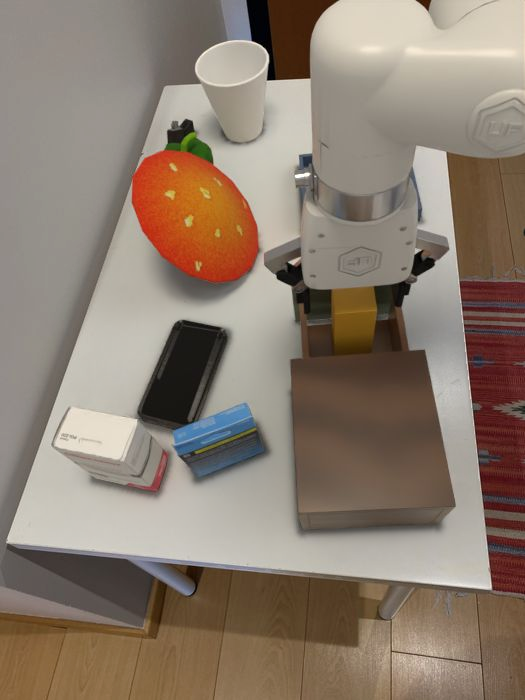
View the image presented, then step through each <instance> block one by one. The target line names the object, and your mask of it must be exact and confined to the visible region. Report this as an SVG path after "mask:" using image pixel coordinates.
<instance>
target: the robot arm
mask: <svg viewBox="0 0 525 700" xmlns="http://www.w3.org/2000/svg"><path fill="white" fill-rule="evenodd" d="M309 42H310V45H309V46H310V47H309V71H310V72H309V76H310V111H311V112H310V113H311V114H310V115H311V139H312V140H311V141H312V142H311V143H312V144H311V146H312V147H311V150H312V151H311V153H312V164H309V168H304V170H300V169H299V170H294V182H295V183H294V184H295V189H301V188H303V187H305V189H306V193H305V197H304V202H303V203H302V209H301V217H300V234H299V235H300V236H299V237H296V238H294V239H291V240H290V241H288V242H285V243H282V244H281V245H278V246H276V247H274V248H272V249H269V250H267V251H265V252H264V253H263V263H264V264H263V265H264V267H265V268H266V269H267V270H268V271H269V272H271V273H272V274H274V275H275V277H276V280H277V281H279V282H281V283H283V284H285V285H288V286H290V287H291V286H292V287H291V289H292V288H293V291H294V292H296V299H297V304H301V303H303V304H304V314H309V313H311V308H310V289H309V287H310V288H313V289H321V290H323V289H342V288H356V287H368V286H379V285H389V284H391V289H392V295H393V301H394V306H396V307H402V308H403V304H404V300H405V296H409V295H410V291H411V288H412V285H414V284H416V283H417V282H418V277H419V276H421V275H423V274H424V273H426V272H428V271H429V270H431V269H433V268H434V267H435V266H436V262H437V261H440V260H441V259H442V258H443V257H444V256H445V255H447V253H448V252H449V251H450V249H451V248H450V243H449V241H448V238H447V236H444V235H441V234H437V233H433V232H430V231H427V230H423V229H420V228H418V223H419V221H418V199H417V192H416V189H415V187H414V184H413V181H412V179H411V178H410V176H411V171H412V166H413V165H414V160H415V155H416V149H417V147H422V148H427V149H431V150H435V151H441V152H444V153H445V152H446V153H450V154H455V155H459V156H464V157H471V158H476V159H477V158H479V159H504V158H512V157H516V156H520V155H523V154H525V0H431V1H430V3H429V7H428V10H427V8H426V7H425V6H423V4H421V3H420V2H419V1H417V0H337V1H336V2H334V3H333V4H332V5H331V6H329V7H327V8H326V10H324V12H322V14H321V15H320V17H319V18H318V19H317V21H316V23H315V25H314V28H313V31H312V33H311V37H310V41H309ZM413 167H414V166H413ZM416 249H419V251H418V252H416ZM415 252H416V253H415ZM298 258H300V259H299V260H297V261H296V262H295V263H294V264H292V263H290V262H292V261H293V260H296V259H298Z"/></svg>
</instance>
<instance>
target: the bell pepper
mask: <svg viewBox="0 0 525 700" xmlns="http://www.w3.org/2000/svg"><path fill="white" fill-rule="evenodd" d="M163 150H170V151H181V152H189V153H191V154H193V155H195V156H197V157H199V158H202V159H204V160H206V161H208V162H210V163H212V164H213V165H214V155H213V151H212V148H211V147H210V146H209V145H208V143H206V142H204V141H203V140H200V139H199V138H198V137H197V132H196V131H195V132H192V133H190V134H188V135H187V136H186V137H185V138H184V139H183V141H182V142H181V143H180V144H179V143H170V144H168V143H166V144H165V147H164V149H163ZM214 166H215V165H214Z"/></svg>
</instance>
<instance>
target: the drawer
mask: <svg viewBox="0 0 525 700" xmlns="http://www.w3.org/2000/svg"><path fill="white" fill-rule="evenodd" d="M290 287H291V296H292V297H291V298H292V304H293V313H294V321H295V322H297V323H298V322H299V323H300V324H299V325H300V338H301V339H300V340H301V355H302V358H312V357H326V356H333V345H332V323H321V324H308V321H319V320H320V321H321V320H331V289H323V290H321V289H313V288H310V287H309V289H310V308H311V313H309V314H304V304H303V303H301V304H297V299H296V292H294V291H293V288H292V286H290ZM374 292H375V299H376V305H377V316H383V315H387V318H385V319H376V323H375V330H374V337H373V344H372V351H371V353H381V352H395V351H409V350H410V346H409V340H408V335H407V328H406V324H405V323H406V322H405V319H404V313H403V312H404V311H403V306H402V307H396V306H394V301H393V295H392V289H391V284H389V285H379V286H374Z"/></svg>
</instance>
